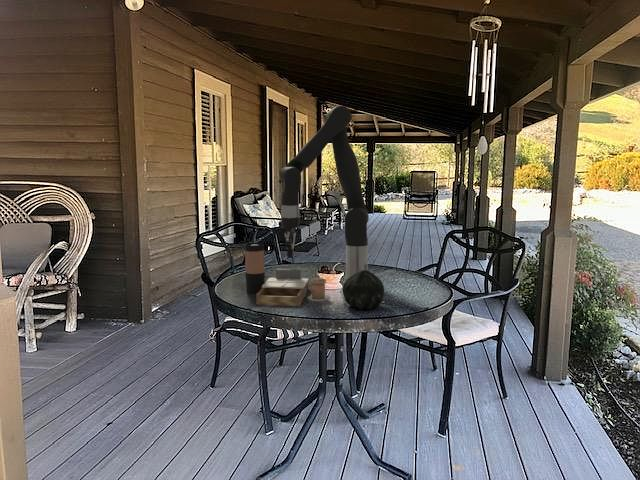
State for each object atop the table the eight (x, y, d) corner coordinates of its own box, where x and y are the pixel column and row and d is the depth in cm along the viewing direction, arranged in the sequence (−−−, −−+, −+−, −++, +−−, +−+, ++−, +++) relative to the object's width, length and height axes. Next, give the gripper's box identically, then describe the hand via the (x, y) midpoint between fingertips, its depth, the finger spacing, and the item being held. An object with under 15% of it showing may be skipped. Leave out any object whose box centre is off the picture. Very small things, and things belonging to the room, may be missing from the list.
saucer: (331, 296, 197) (331, 294, 197) (329, 303, 189) (329, 301, 188) (308, 296, 198) (308, 294, 198) (305, 302, 190) (305, 300, 189)
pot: (326, 296, 196) (326, 278, 195) (325, 299, 190) (325, 281, 189) (311, 295, 196) (311, 277, 195) (309, 299, 191) (309, 281, 190)
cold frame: (308, 291, 206) (308, 280, 206) (299, 307, 183) (299, 295, 182) (270, 290, 208) (269, 279, 207) (256, 306, 184) (256, 294, 184)
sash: (308, 279, 205) (308, 269, 205) (303, 288, 191) (303, 277, 190) (269, 279, 207) (269, 268, 206) (261, 287, 193) (261, 276, 192)
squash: (362, 284, 195) (348, 259, 185) (396, 291, 186) (382, 266, 176) (345, 314, 189) (329, 290, 179) (379, 323, 179) (364, 298, 170)
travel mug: (242, 294, 202) (241, 245, 199) (251, 289, 209) (250, 242, 206) (259, 296, 199) (258, 246, 196) (268, 291, 206) (267, 243, 203)
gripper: (284, 214, 214) (284, 254, 217) (278, 217, 201) (278, 260, 204) (301, 214, 213) (301, 254, 216) (296, 218, 200) (296, 260, 203)
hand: (290, 257), depth 210 cm, fingers closed
